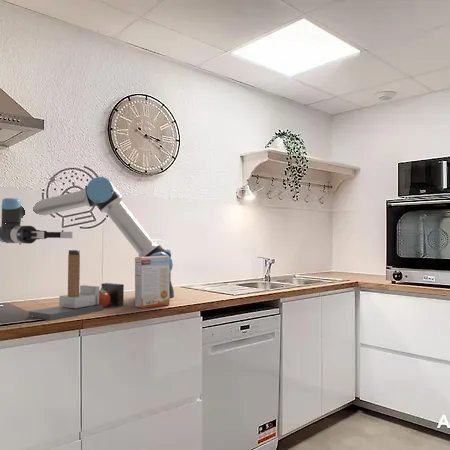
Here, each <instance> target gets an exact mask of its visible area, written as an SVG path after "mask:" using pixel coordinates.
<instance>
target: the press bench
mask: <svg viewBox="0 0 450 450" xmlns="http://www.w3.org/2000/svg"><path fill="white" fill-rule="evenodd" d="M124 286H125V285H124V284H123V283H112V282H104V283H101V288H103V290H105V291H106V292H107V293H109V294H110V296H111V300H110V303H109V304H108V306H111V307H118V308H119V307H124V301H125V300H124V295H125V294H124V290H125V289H124V288H125V287H124ZM101 288H100V289H101ZM103 310H104V308H103V305H98V304H97V305H91V306H86V307H80V308H68V307H61V306H53V307H47V308H40V309H34V310H28V317H29V316H33V317H38V318H37V319H40V318H43V319H42V320H47V321H52V320H57V319H63V318H69V317H74V316H80V315H85V314H91V313H95V312H101V311H103ZM33 317H32V318H33Z"/></svg>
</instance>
